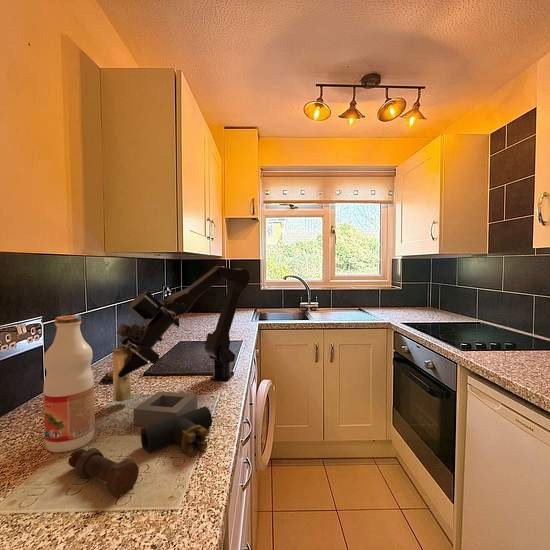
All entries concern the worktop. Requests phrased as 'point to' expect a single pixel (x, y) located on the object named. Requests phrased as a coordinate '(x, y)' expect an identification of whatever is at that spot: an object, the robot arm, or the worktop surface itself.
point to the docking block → (164, 407)
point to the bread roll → (107, 378)
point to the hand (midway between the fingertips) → (116, 374)
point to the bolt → (105, 470)
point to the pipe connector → (179, 432)
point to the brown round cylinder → (124, 383)
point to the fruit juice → (68, 388)
